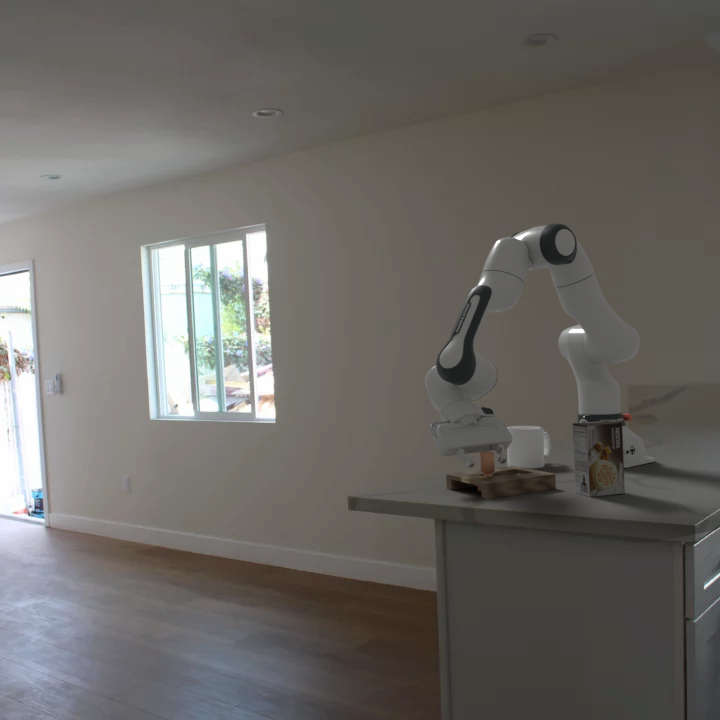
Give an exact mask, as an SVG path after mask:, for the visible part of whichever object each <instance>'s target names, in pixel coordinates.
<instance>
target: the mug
mask: <svg viewBox="0 0 720 720" xmlns="http://www.w3.org/2000/svg"><path fill="white" fill-rule="evenodd" d="M506 427H507V429H508V430H509V432H510V433H511V435H512V442H511V444H510V445H509V447H508V448H507V449H506V453H507V454H506V458H507V466H517V467H522V468H527V469H539V468H544V467H545V464H546V463H545V460H546V459H545V458H547V457H550V453H551V438H550V435H549V433H548V432H547V431H545V429H544V427H543V426H539V425H513V426H506Z"/></svg>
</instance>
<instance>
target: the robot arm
mask: <svg viewBox="0 0 720 720" xmlns="http://www.w3.org/2000/svg"><path fill="white" fill-rule="evenodd" d="M545 268H546V269H547V270H548V271H549V273H550V275H551V276H550V277H551V280H552V284H553V285H554V288H555V292H556V294H557V296H558V298H559V299H558V300H559V302H560V305H561V307H562V309H563V312H564V313H565V314H566V315H567V316H568V317H570V318H572V319H573V320H575V321H576V323H577V324H576V325H573V326H569V327H567V328H565V329H563V331H561V333H560V335H559V338H558V341H557V342H558V343H557V345H558V350H559V352H560V355H561V356H562V357H563V358H564V359H565V360H566V361H567V362H568V364H569V366H570V368H571V369H572V372H573V374H574V375H573V376H574V379H575V382H576V387H577V396H578V399H577V400H578V413H577V415H576V416H577V418H576V419H577V422H576V423H583V422H598V421H612V422H618V423H622V434H623V459H624V469H625V468H626V469H627V468H628V469H629V468H632V467H637V466H641V465H645V464H649V463H654V462H655V458H654V457H653V456H648V455H646V449H645V443H644V441H643V439H642V438H641V437H640V436H638V435H637V434H636V433H635V432H633V431H632V430H631V429H630V428H629V427H627V426H626V425H627V424H626V421H627V422H631V421H632V420H633V416H632V414H631V413H624V414H623V412H621V387H620V385H619V382H618V380H616V379H614V377H613V376H612V375H611V374H610V372H609V370H608V367H607V364H619V363H623V362H625V361H629V360H632V359H633V358H635V357H636V355H637V354H638V352H639V349H640V343H641V342H640V341H641V340H640V339H641V338H640V336H639V333H638V331H637V329H635V327H634V326H632V325H631V324H628V323H627V322H626V321H624V320H623V319H622V318H621V317H620V316H619V315H618V314H617V313H616V312H615V311H614V310H613V308H612V307H611V306H610V304H609V303H608V301H607V300H606V298H605V296H604V294H603V291H602V289H601V287H600V284H599V281H598V279H597V276H596V273H595V269H594V267H593V265H592V263H591V261H590V259H589V256H588V255H587V252H586V250H585V249H584V248H583V246H582V244H581V243H580V242H579V241H578V240H577V237H576V236H575V234H574V232H573V231H572V229H571V228H570V227H569V226H567V225H566V224H562V223H550V224H547V225H540V226H539V225H538V226H535V227H531V228H529V229H526V230H523V231H521V232H520V231H519V232H516V233H513V234H512V235H510V236H509V237H502V238H499V239H498V240H497V241H496V242H495V243H494V244H493V246H492V248H491V249H490V251H489V254H488V256H487V258H486V260H485V263H484V265H483V269H482V271H481V275H480V277H479V280H478V283H477V284H476V285H475V287H474V288H472V289H471V290H470V292H469V293H468V295H467V296H466V299H465V300H464V303H463V305H462V307H461V310H460V312H459V314H458V317H457V319H456V320H455V324H454V326H453V329H452V331H451V332H450V335H449V337H448V339H447V340H446V342H445V343H444V345H443V346H442V348H440V350H439V353H438V355H437V358H436V362H435V363H436V364H435V365H434V366H433V367H431V368H430V369H429V370H428V371H427V372H426V374H425V377H424V386H425V390H426V393H427V396H428V397H429V400H430V402H431V404H432V406H433V407H434V409H436V411H438V413H439V417H440V420H441V421H433V422H432V423H431V424H430V425H429V432H430V434H431V436H432V437H433V442H434V444H435V446H436V449H437V451H438V453H439V454H440V455H441V456H443V457H452V456H455V457H456V459H457V460H459V461H460V462H461V463H463V464H464V466H465V467H466V469H470V468H474V466H475V465H476V462H475V461H474V459H473V457H469V456H468V455H469V454H478V453H480V452H486V451H489V452H494V453H496V454H498V455H497V457H496V462H497V463H498V464H499V465H501V464H502V465H503V464H506V462H508V460H507V455H505V450H507V448H508V447H509V445H510V444H511V442H512V435H511V433H510V432H509V430H508V429H507V427H508V426H506V423H505V422H504V421H503V420H502V419H501V418H499V417H497V415H498V413H497V411H496V410H495V409H494V408H491V407H487V406H484V405H483V406H482V405H478V404H476V403H474V402H475V401H477V400H479V399H480V398H483V397H484V396H485V395H487V394H488V393H490V392H491V391H492V390H493V389H494V387H495V386H496V385H497V381H498V376H499V375H498V369H497V367H496V366H495V365H494V364H493V363H492V362H491V361H489V360H488V359H487V358H485V357H484V356H483V355H481V354H480V353H478V352H477V350H476V348H475V345H476V340H477V337H478V335H479V333H480V331H481V328H482V326H483V323H484V321H485V319H486V317H487V316H488V315H489V314H491V313H504V312H507V311H509V310H511V309H513V308H515V306H516V305H517V304H518V302H519V301H520V300H519V299H520V298H521V295H522V292H523V288H524V286H525V282H526V281H525V280H526V279H527V277H526V276H527V272H528V271H538V270H543V269H545Z"/></svg>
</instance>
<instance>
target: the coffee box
mask: <svg viewBox="0 0 720 720" xmlns="http://www.w3.org/2000/svg"><path fill="white" fill-rule="evenodd" d="M572 431H573V433H572V434H573V438H572V439H573V457H574V458H573V460H574V461H573V463H574V487H575V493H577V494H579V495H583V496H586V497H588V498H595V497H601V496H612V495H622V494H625V492H626V490H625V489H626V487H625V468H624V459H623V434H622V423H618V422H612V421H598V422H583V423H577V422H572Z"/></svg>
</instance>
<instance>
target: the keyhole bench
mask: <svg viewBox="0 0 720 720" xmlns="http://www.w3.org/2000/svg"><path fill="white" fill-rule="evenodd" d="M445 476H446V477H445V478H446V489H447V490H451V489H453V490H458V489H459V488H460V489H466V487H467V488H473V487H478V486H481V491H482V492H481V498H482V499H486V500H489V499H495V498H496V499H497V498H501V497H508V496H509V497H510V496H515V495H517V496H518V495H521V494H522V495H523V494H528V493H536V492H537V493H538V492H541V491H542V492H543V491H551V490H556V489H557V487H556V486H557V483H556V481H557V478H556V477H557V476H556V473H552V472H548V471H542V470H538V469H537V470H536V469H533V468H531V469H527V468H522V467H517V466H508V465H507V466H498V467H495V472H493V476H492V477H485V476H483V472H481V469H475V470H469V471H461V472H459V471H458V472H451V473H446V474H445Z"/></svg>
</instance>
